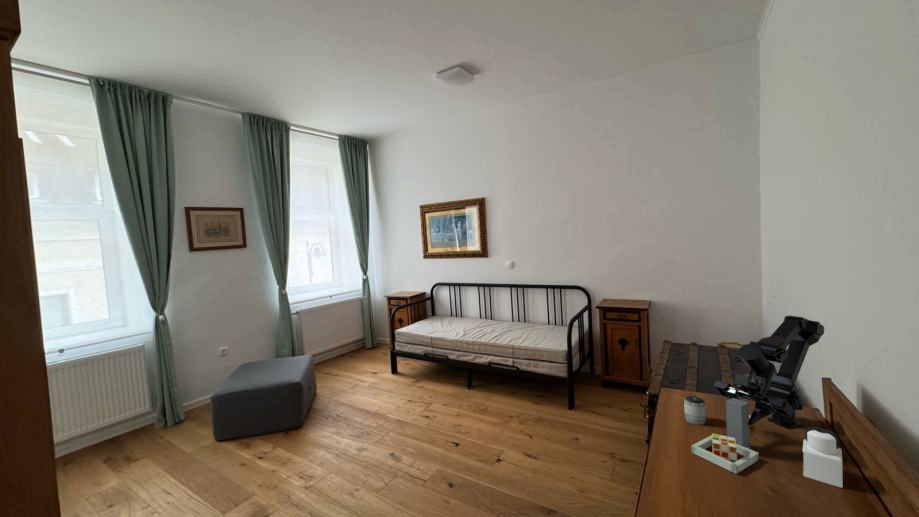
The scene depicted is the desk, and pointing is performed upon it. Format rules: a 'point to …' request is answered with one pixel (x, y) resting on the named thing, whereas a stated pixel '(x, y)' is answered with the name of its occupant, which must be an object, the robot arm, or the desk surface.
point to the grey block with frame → (737, 429)
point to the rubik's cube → (724, 447)
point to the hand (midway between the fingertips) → (740, 422)
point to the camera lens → (695, 410)
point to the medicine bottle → (822, 456)
